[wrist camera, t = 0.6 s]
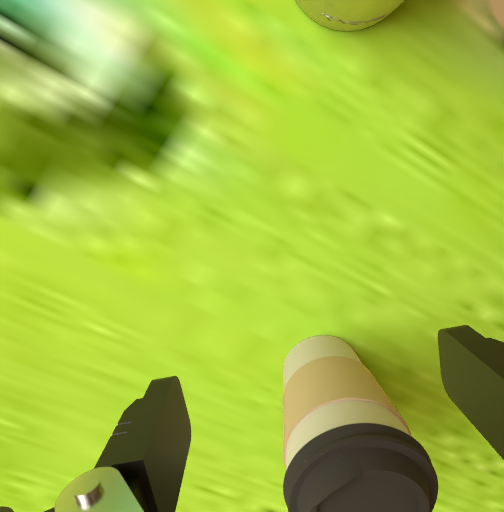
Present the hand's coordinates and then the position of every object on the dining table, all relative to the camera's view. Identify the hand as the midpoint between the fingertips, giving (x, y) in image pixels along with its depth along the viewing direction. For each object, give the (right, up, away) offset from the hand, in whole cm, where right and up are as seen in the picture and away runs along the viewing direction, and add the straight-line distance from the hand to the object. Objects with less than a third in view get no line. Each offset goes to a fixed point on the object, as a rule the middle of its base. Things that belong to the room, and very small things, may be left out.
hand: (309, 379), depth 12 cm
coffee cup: (+5, -7, +24) cm, 25 cm away
